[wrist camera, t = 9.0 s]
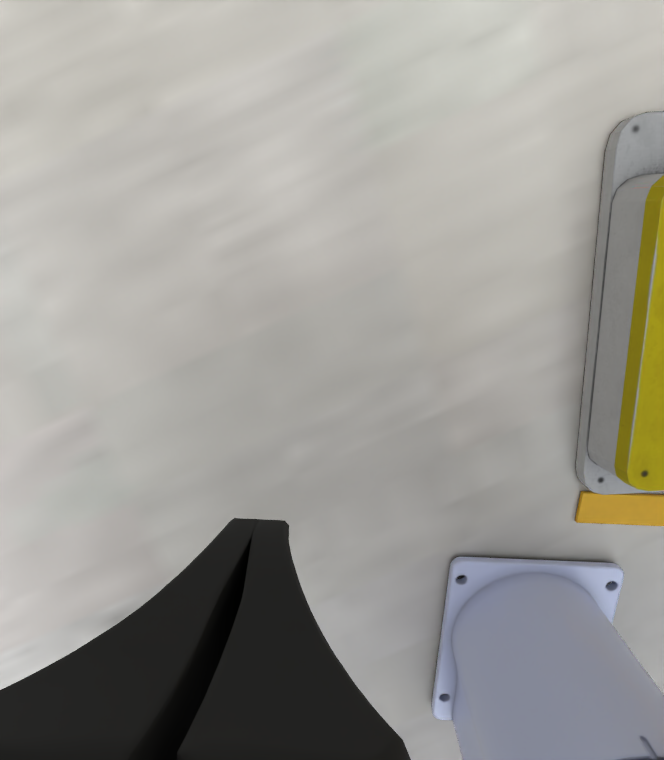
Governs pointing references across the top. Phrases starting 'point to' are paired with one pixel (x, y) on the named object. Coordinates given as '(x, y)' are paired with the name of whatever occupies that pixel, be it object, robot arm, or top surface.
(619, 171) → the emergency button
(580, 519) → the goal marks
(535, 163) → the top surface
